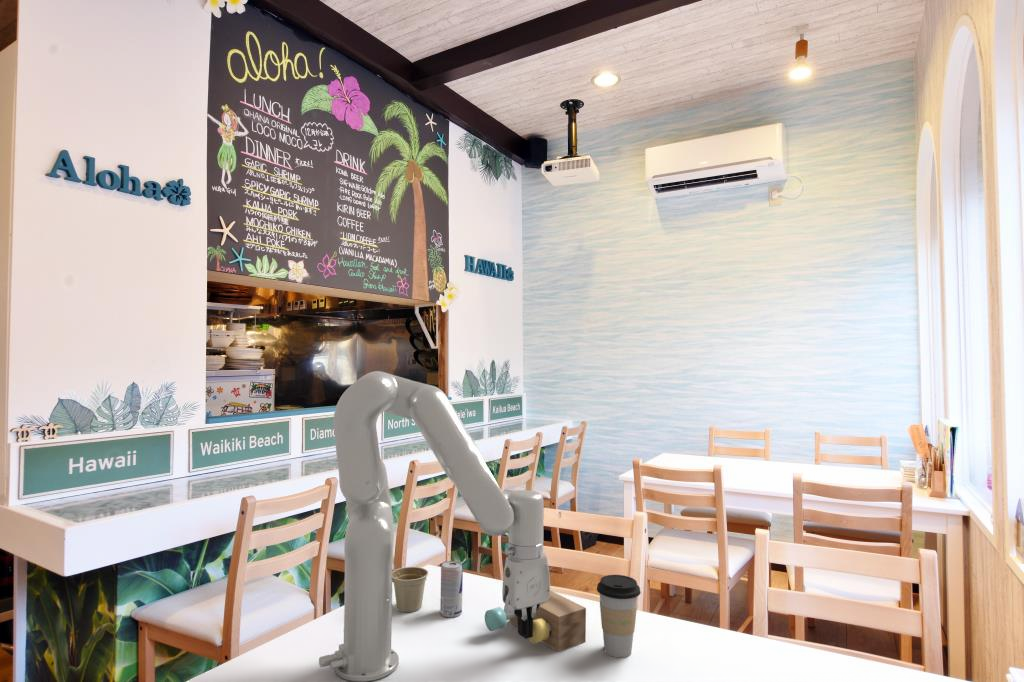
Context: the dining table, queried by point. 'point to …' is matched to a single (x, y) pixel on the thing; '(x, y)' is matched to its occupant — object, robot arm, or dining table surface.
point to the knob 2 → (540, 630)
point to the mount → (562, 622)
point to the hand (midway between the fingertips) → (525, 635)
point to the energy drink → (451, 589)
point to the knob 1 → (497, 618)
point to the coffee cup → (618, 613)
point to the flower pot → (409, 587)
